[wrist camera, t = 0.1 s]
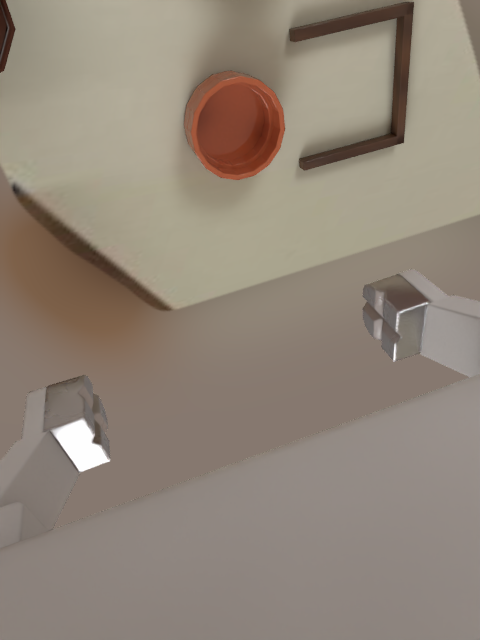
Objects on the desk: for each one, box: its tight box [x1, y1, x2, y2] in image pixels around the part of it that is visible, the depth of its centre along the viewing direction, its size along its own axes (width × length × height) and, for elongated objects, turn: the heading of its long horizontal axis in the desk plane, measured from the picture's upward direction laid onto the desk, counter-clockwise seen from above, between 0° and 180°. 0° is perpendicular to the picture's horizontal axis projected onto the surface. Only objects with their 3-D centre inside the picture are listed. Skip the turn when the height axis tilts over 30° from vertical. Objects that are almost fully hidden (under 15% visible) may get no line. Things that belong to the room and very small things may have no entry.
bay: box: [289, 2, 414, 170], centre depth 57 cm, size 16×15×2 cm
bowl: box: [184, 70, 285, 180], centre depth 54 cm, size 11×11×5 cm
